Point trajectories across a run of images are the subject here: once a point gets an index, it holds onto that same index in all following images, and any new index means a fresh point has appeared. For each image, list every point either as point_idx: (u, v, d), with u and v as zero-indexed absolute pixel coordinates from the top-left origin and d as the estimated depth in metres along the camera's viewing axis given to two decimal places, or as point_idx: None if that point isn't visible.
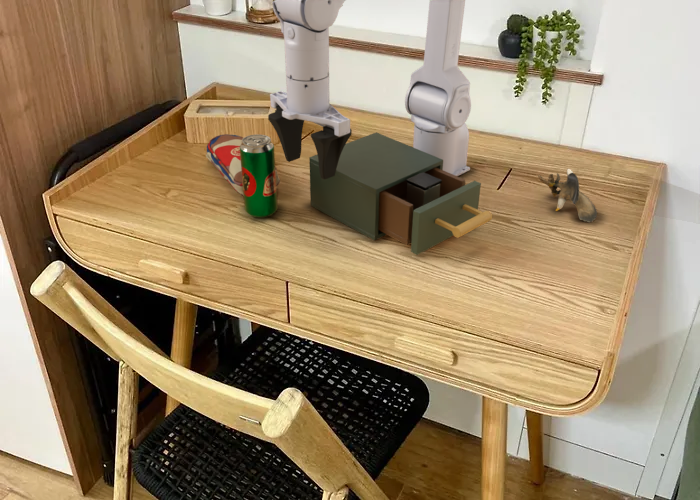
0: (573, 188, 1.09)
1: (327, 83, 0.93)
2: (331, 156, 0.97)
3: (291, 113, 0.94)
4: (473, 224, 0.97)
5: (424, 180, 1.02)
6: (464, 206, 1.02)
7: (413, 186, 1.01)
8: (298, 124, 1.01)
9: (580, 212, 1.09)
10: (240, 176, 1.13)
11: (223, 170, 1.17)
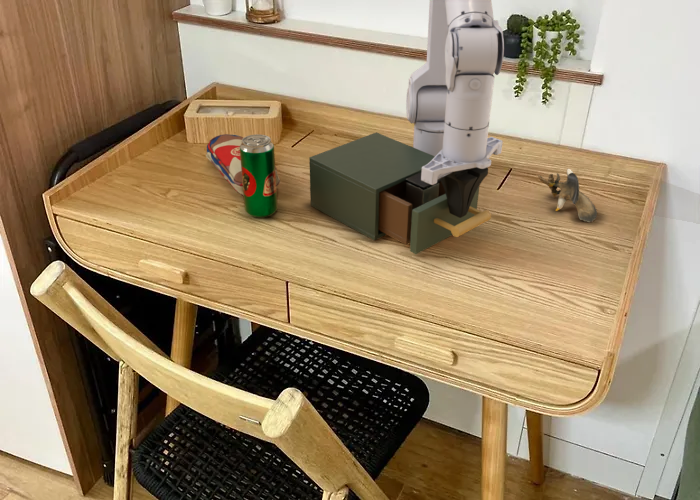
0: (573, 188, 1.09)
1: None
2: None
3: (486, 160, 0.93)
4: (472, 223, 0.97)
5: None
6: None
7: (412, 186, 1.02)
8: None
9: (580, 212, 1.09)
10: (240, 176, 1.13)
11: (223, 170, 1.17)
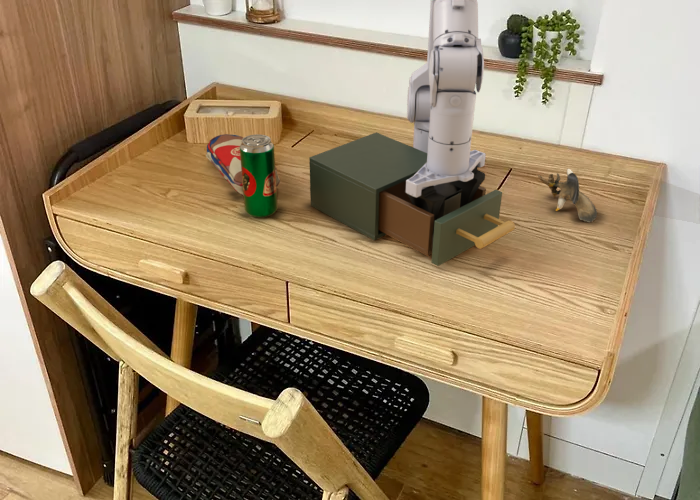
0: (573, 188, 1.09)
1: None
2: None
3: (469, 173, 0.96)
4: (496, 234, 0.95)
5: (444, 189, 0.99)
6: (485, 216, 0.99)
7: None
8: None
9: (580, 212, 1.09)
10: (240, 176, 1.13)
11: (223, 170, 1.17)
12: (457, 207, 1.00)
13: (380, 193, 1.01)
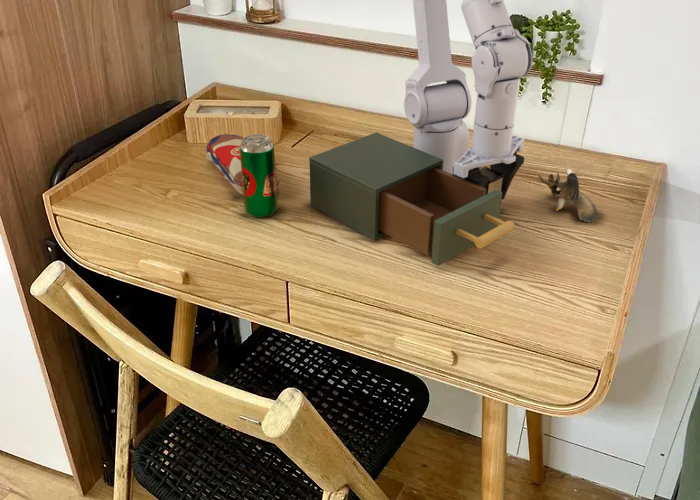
0: (573, 188, 1.09)
1: None
2: None
3: (511, 156, 1.04)
4: (496, 234, 0.95)
5: (487, 174, 1.08)
6: (485, 216, 0.99)
7: None
8: None
9: (580, 212, 1.09)
10: (240, 176, 1.13)
11: (223, 170, 1.17)
12: None
13: (380, 193, 1.01)
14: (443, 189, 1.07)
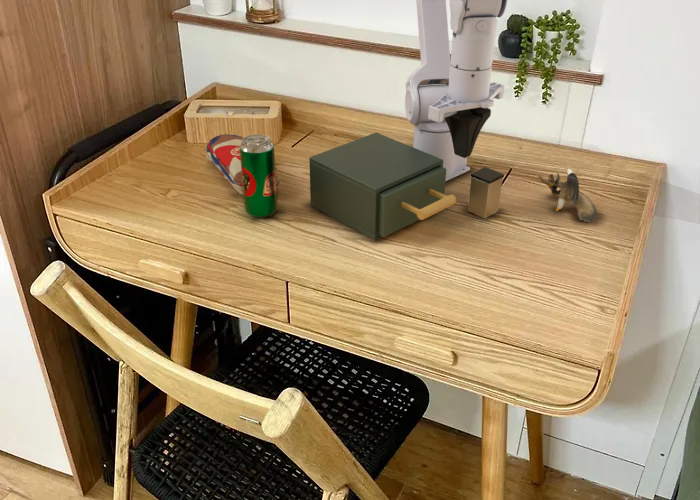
0: (573, 188, 1.09)
1: None
2: None
3: (489, 100, 0.99)
4: (437, 207, 1.01)
5: (487, 174, 1.08)
6: (429, 191, 1.06)
7: (477, 180, 1.08)
8: None
9: (580, 212, 1.09)
10: (240, 176, 1.13)
11: (223, 170, 1.17)
12: (499, 191, 1.09)
13: None
14: None
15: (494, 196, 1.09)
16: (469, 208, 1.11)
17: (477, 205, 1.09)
